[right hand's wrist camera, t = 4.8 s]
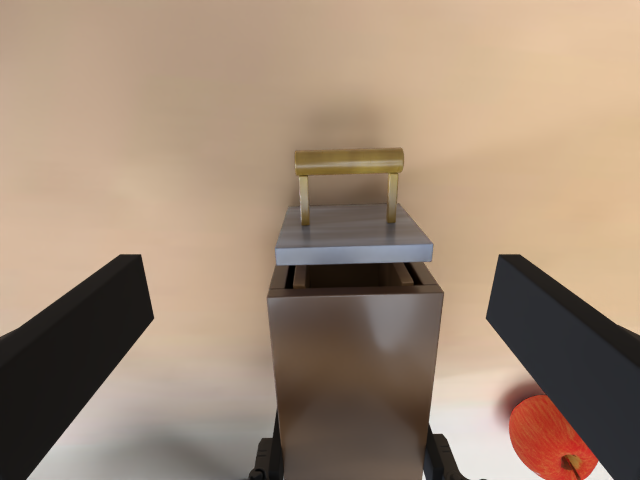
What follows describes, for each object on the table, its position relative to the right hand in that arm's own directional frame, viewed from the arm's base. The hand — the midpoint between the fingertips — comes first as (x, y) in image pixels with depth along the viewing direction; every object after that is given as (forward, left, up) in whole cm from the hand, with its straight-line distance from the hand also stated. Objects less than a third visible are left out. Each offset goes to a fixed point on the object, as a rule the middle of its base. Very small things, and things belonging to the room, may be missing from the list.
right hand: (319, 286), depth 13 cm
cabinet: (+11, +9, -18) cm, 23 cm away
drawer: (+5, +6, -17) cm, 19 cm away
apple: (+10, +34, -18) cm, 40 cm away
